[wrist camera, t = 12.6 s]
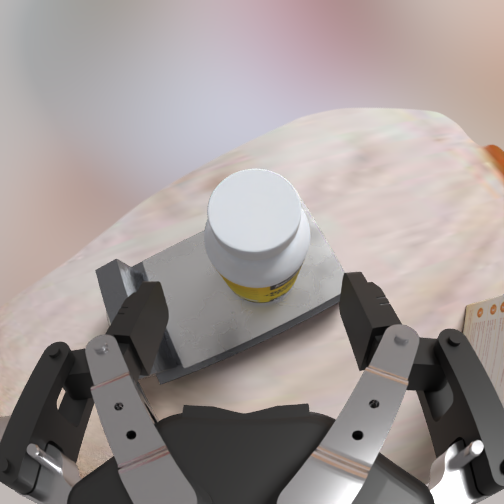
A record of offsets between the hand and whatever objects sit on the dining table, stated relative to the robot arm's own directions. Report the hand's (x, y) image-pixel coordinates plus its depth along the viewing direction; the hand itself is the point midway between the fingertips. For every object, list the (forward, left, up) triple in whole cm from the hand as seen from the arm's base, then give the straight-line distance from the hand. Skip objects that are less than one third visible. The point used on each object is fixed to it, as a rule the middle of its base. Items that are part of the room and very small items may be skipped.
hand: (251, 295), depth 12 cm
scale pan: (-1, +4, -13) cm, 14 cm away
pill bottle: (0, +4, -12) cm, 13 cm away
